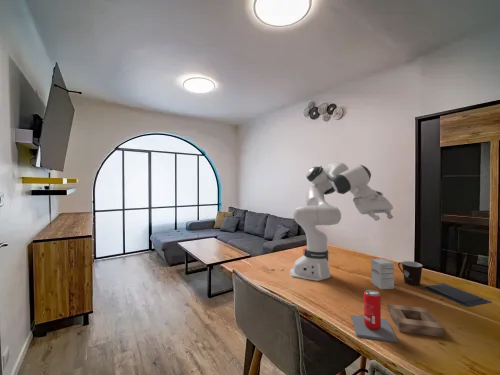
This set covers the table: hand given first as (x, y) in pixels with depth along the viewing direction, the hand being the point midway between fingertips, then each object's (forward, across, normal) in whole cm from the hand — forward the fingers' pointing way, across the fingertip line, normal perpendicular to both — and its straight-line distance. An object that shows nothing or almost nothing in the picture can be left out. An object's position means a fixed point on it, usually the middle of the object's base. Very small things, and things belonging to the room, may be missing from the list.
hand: (384, 219), depth 109 cm
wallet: (+35, +26, +14) cm, 46 cm away
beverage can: (+35, -30, +12) cm, 48 cm away
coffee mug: (+23, +22, +26) cm, 41 cm away
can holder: (+39, -14, +10) cm, 42 cm away
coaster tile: (+36, -30, +13) cm, 48 cm away
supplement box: (+21, +5, +28) cm, 35 cm away
